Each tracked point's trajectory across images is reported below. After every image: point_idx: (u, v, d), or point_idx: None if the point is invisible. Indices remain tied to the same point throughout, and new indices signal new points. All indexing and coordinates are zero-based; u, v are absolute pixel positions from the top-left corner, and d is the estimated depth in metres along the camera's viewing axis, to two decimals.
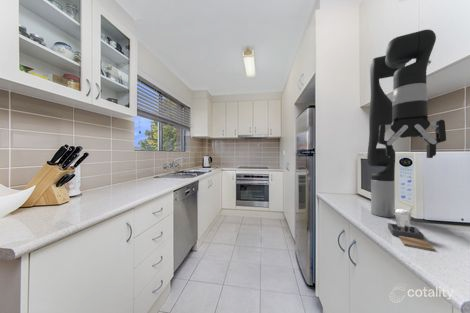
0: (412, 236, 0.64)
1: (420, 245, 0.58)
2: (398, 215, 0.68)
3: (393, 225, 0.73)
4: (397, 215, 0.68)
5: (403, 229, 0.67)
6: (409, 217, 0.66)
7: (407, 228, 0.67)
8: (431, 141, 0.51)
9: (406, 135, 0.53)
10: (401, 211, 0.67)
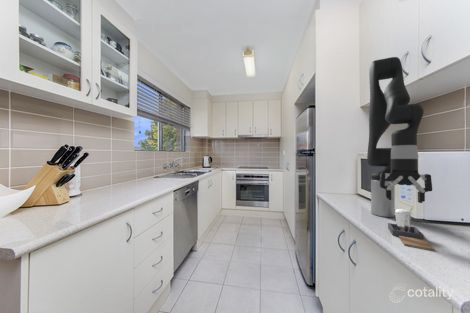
0: (412, 236, 0.64)
1: (420, 245, 0.58)
2: (398, 215, 0.68)
3: (393, 225, 0.73)
4: (397, 215, 0.68)
5: (403, 229, 0.67)
6: (409, 217, 0.66)
7: (407, 228, 0.67)
8: (421, 190, 0.65)
9: (401, 183, 0.68)
10: (401, 211, 0.67)
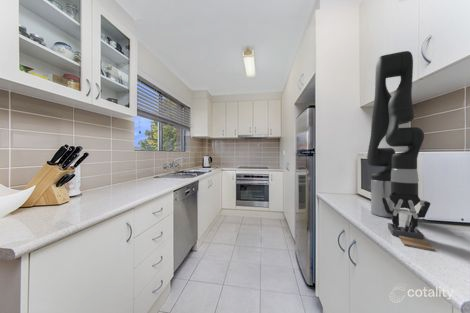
0: (412, 236, 0.64)
1: (420, 245, 0.58)
2: (399, 215, 0.68)
3: (393, 225, 0.73)
4: (399, 215, 0.68)
5: (403, 229, 0.67)
6: (410, 217, 0.66)
7: (408, 228, 0.67)
8: (414, 216, 0.66)
9: (401, 207, 0.68)
10: (403, 211, 0.67)
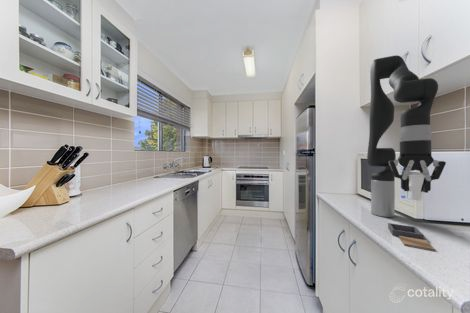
0: (412, 236, 0.64)
1: (420, 245, 0.58)
2: (410, 178, 0.60)
3: (393, 225, 0.73)
4: (409, 179, 0.61)
5: (415, 193, 0.59)
6: (423, 180, 0.59)
7: (419, 192, 0.59)
8: (426, 178, 0.58)
9: (412, 169, 0.60)
10: (414, 173, 0.60)
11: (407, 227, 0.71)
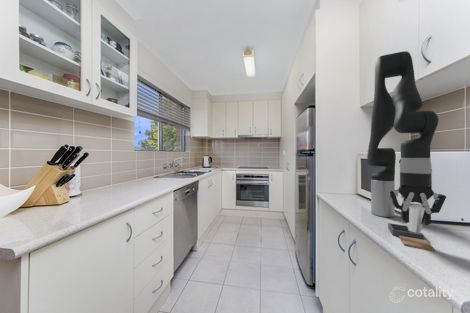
0: (412, 236, 0.64)
1: (420, 245, 0.58)
2: (410, 210, 0.60)
3: (393, 225, 0.73)
4: (409, 210, 0.60)
5: (415, 226, 0.59)
6: (423, 213, 0.58)
7: (420, 225, 0.59)
8: (426, 211, 0.58)
9: (412, 201, 0.60)
10: (414, 205, 0.59)
11: None
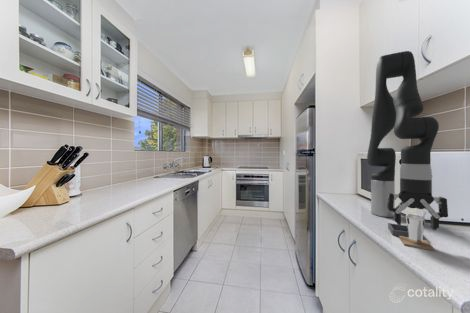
0: None
1: (420, 245, 0.58)
2: (410, 221, 0.60)
3: (393, 225, 0.73)
4: (409, 221, 0.61)
5: (415, 237, 0.59)
6: (422, 223, 0.59)
7: (420, 236, 0.59)
8: (435, 215, 0.57)
9: (412, 207, 0.60)
10: (413, 216, 0.60)
11: None
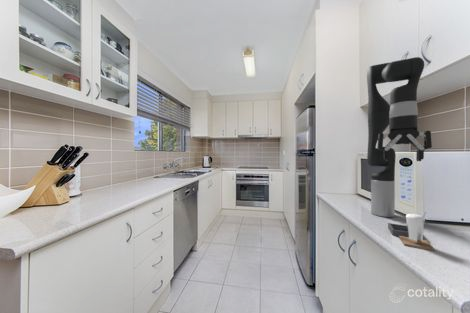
0: None
1: (420, 245, 0.58)
2: (410, 221, 0.60)
3: (393, 225, 0.73)
4: (409, 221, 0.61)
5: (415, 237, 0.59)
6: (422, 223, 0.59)
7: (420, 236, 0.59)
8: (420, 148, 0.63)
9: (400, 143, 0.66)
10: (413, 216, 0.60)
11: None
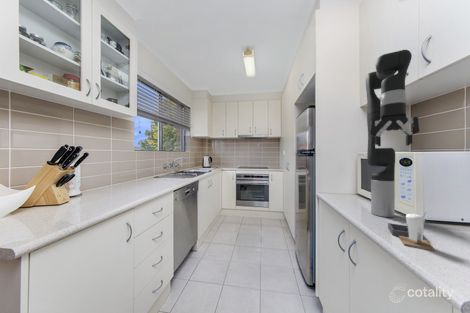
0: None
1: (420, 245, 0.58)
2: (410, 221, 0.60)
3: (393, 225, 0.73)
4: (409, 221, 0.61)
5: (415, 237, 0.59)
6: (422, 223, 0.59)
7: (420, 236, 0.59)
8: (408, 132, 0.68)
9: (390, 128, 0.71)
10: (413, 216, 0.60)
11: None
